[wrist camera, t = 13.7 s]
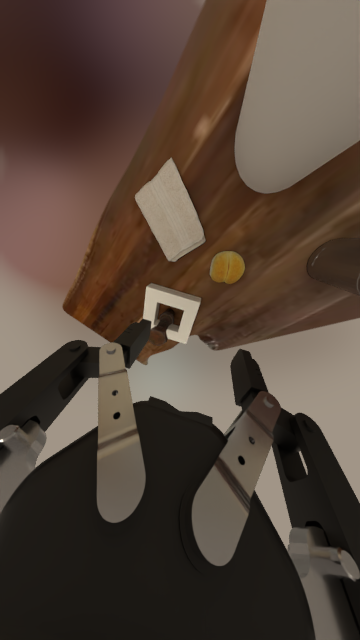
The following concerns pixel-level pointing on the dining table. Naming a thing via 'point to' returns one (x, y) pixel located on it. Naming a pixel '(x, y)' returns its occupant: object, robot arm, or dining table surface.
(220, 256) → the bread roll
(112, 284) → the dining table surface
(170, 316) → the bolt
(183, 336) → the collar block
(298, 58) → the cylinder
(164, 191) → the washcloth
